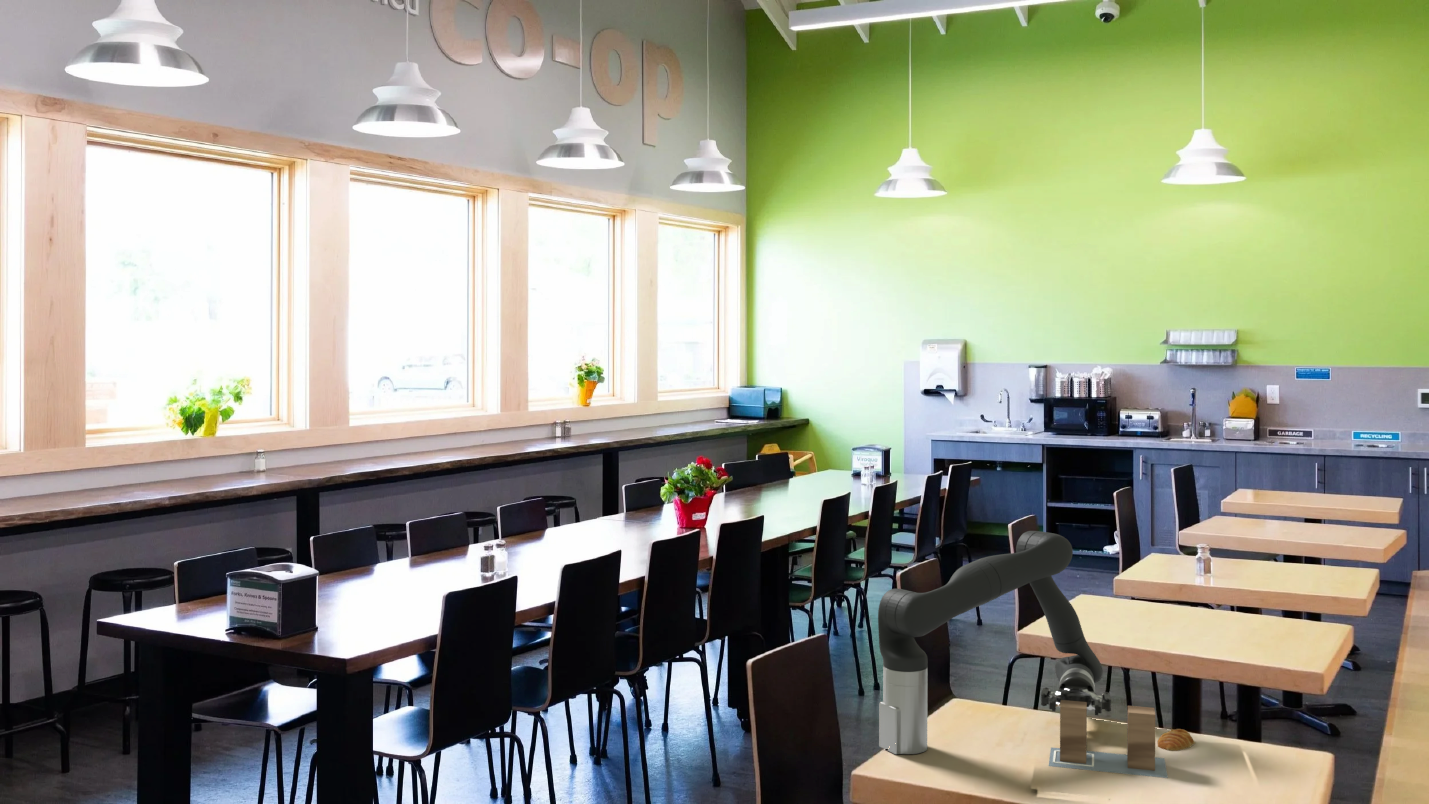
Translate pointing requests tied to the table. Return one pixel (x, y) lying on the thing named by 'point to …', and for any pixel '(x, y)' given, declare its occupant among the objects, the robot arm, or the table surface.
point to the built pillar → (1141, 738)
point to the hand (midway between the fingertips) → (1075, 708)
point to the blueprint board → (1108, 764)
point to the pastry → (1175, 740)
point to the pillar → (1073, 731)
